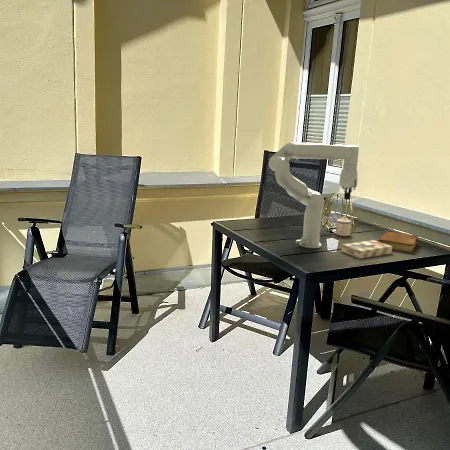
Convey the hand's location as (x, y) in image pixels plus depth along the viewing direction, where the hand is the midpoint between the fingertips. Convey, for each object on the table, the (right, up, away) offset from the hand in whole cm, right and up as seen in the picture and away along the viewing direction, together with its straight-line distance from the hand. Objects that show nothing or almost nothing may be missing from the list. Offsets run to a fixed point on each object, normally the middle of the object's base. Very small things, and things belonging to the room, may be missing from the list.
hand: (347, 199), depth 255 cm
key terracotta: (+15, -28, -5) cm, 33 cm away
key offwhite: (+9, -28, -9) cm, 30 cm away
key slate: (+2, -30, -12) cm, 32 cm away
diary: (+32, -28, +7) cm, 43 cm away
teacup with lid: (+4, -21, +28) cm, 35 cm away
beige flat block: (+8, -30, -9) cm, 33 cm away
